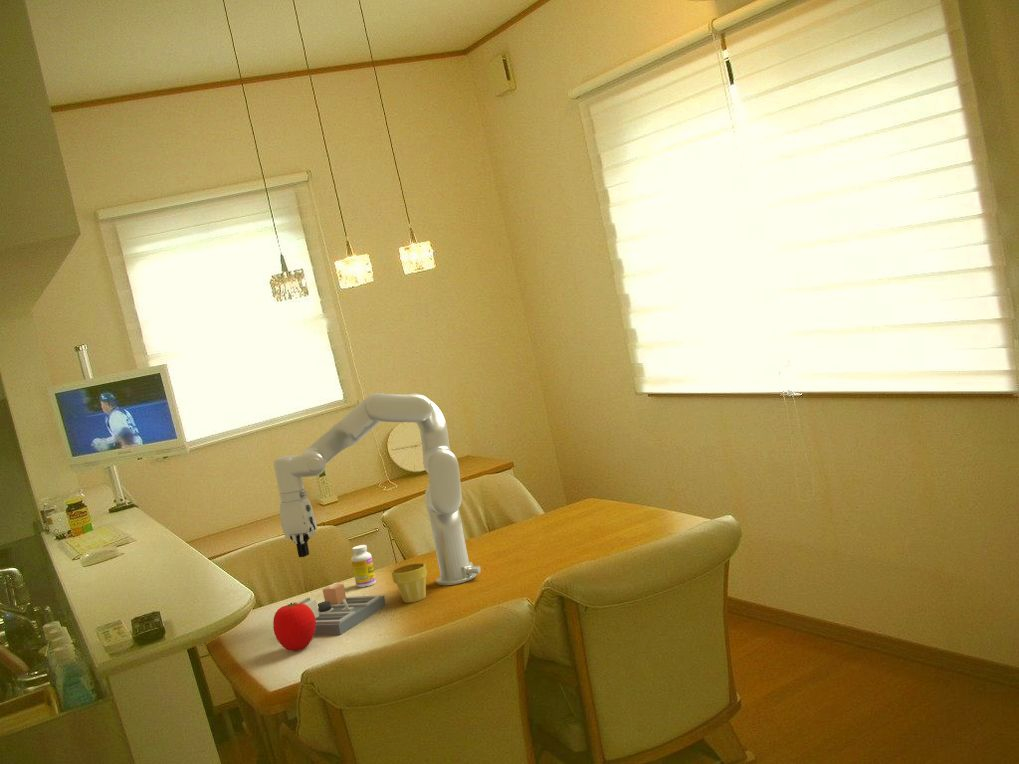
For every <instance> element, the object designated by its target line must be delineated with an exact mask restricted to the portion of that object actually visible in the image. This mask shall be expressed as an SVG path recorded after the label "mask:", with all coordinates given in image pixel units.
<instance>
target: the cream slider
mask: <svg viewBox="0 0 1019 764" xmlns="http://www.w3.org/2000/svg"><path fill="white" fill-rule="evenodd" d="M298 603H303V604H305V605H307V606H308V607H309V608H310V609H311V610H312V612H313V613H314V616H315V618H317V617H319V612H318V602H317V599H315V598H313V599H311V597H307V598H305V599H302V600H301V601H298Z"/></svg>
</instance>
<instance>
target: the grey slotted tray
mask: <svg viewBox="0 0 1019 764" xmlns="http://www.w3.org/2000/svg"><path fill="white" fill-rule="evenodd" d="M342 601H343V602H342V603H341V604H333V605H331V609H330V610H328V611H324V612H319V608H318V612H319V617H317V618H315V619H316V629H315V633H314V636H313V637H315V636H316V637H317V636H341V635H343V634H344V633H346V632H347V631H349V630H351V629H352V628H353V627H356V626H357V625H359V624H360V623H361V622H364V621H365V620H366V619H368V618H370V617H371V616H373V615H374V614H376V613H378V612H379V611H380V610H381V609H383V608H385V607H386V606H387V602H386V599H385V596H384V595H378V594H377V595H361V596H359V595H358V596H346V600H345V599H343V600H342Z"/></svg>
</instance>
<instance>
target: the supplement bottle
mask: <svg viewBox="0 0 1019 764" xmlns="http://www.w3.org/2000/svg"><path fill="white" fill-rule="evenodd" d="M367 550H368V547H367V545H366V544H359V545H357V546H353V547H352V553H353V555H352V556H351V558H350V559H351V564H352V565H351V566H352V571H353V576H354V581H355V585H356V587H358V588H366V587H365V586H368V587H370V585H371V586H373V585H376V583H377V577H376V573H375V568H374V562H373V557H372V554H371V553H370V552H368V551H367Z"/></svg>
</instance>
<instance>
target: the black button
mask: <svg viewBox="0 0 1019 764" xmlns="http://www.w3.org/2000/svg"><path fill="white" fill-rule="evenodd" d="M317 607H318V608H319V612H324V611H328V610H330V609H331V604H330V601H325V600H324V601H321V602H318V603H317Z"/></svg>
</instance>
